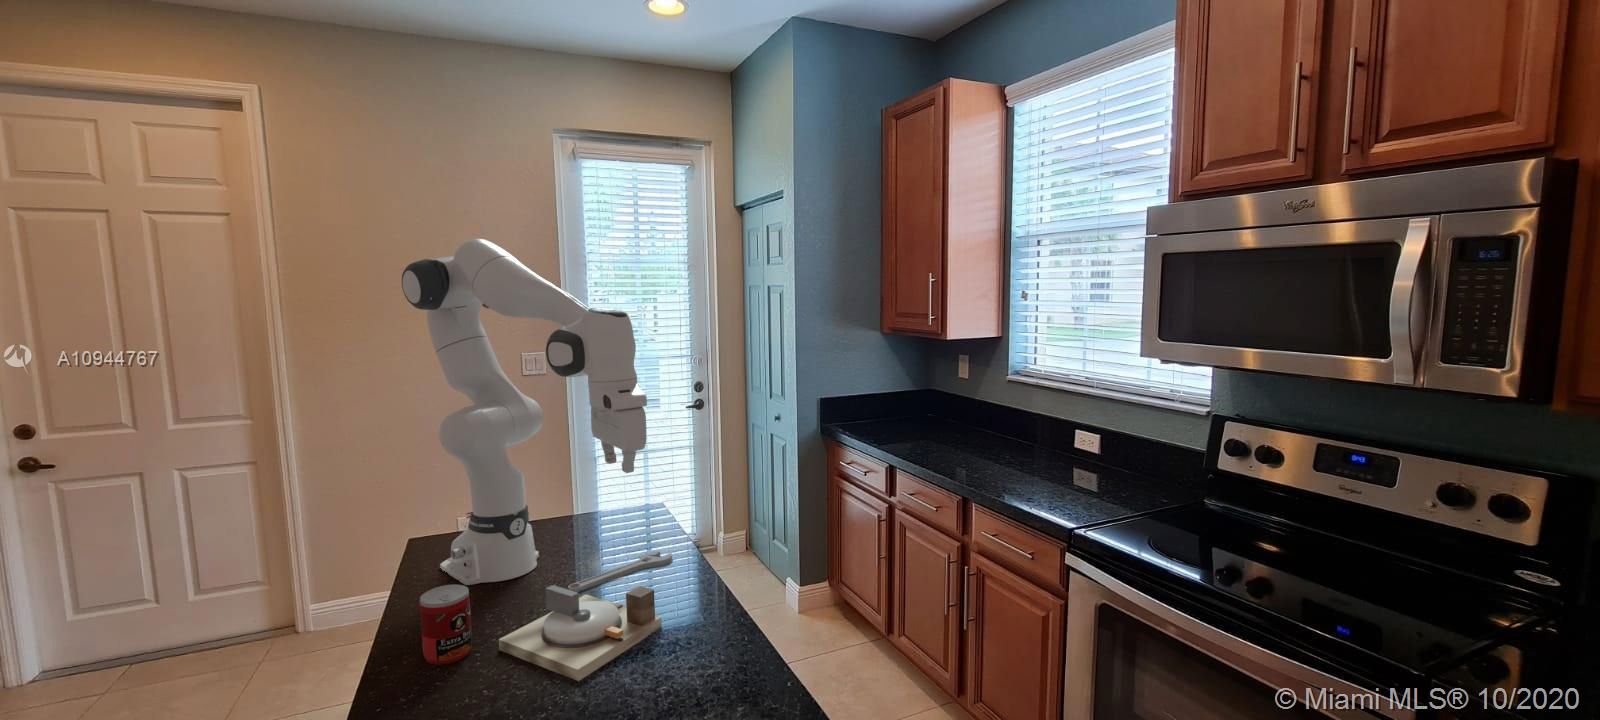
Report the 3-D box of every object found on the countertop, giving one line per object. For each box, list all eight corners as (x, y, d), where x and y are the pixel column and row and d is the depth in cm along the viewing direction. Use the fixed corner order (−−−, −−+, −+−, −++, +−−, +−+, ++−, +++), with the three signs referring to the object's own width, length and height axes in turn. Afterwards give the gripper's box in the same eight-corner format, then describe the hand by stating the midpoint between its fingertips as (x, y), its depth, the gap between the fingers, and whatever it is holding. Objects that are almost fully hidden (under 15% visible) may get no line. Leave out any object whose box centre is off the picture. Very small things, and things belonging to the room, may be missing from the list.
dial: (521, 630, 121) (519, 600, 120) (577, 601, 132) (576, 573, 132) (592, 656, 112) (590, 624, 112) (646, 622, 123) (645, 593, 123)
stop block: (627, 621, 125) (625, 593, 124) (640, 613, 128) (639, 585, 127) (641, 626, 123) (640, 597, 122) (655, 617, 126) (654, 589, 125)
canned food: (440, 670, 113) (435, 608, 112) (414, 657, 117) (409, 597, 116) (482, 649, 119) (478, 590, 118) (456, 637, 124) (452, 580, 122)
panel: (499, 650, 119) (498, 637, 119) (586, 603, 136) (585, 592, 136) (578, 681, 109) (578, 667, 109) (661, 627, 126) (661, 615, 126)
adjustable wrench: (572, 596, 141) (571, 588, 141) (559, 587, 146) (559, 579, 145) (675, 562, 157) (675, 555, 157) (661, 555, 162) (661, 548, 162)
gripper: (580, 391, 132) (585, 460, 133) (615, 402, 115) (621, 481, 116) (611, 387, 135) (616, 455, 136) (650, 397, 118) (656, 474, 120)
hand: (619, 467), depth 126 cm, fingers open, 8 cm apart
